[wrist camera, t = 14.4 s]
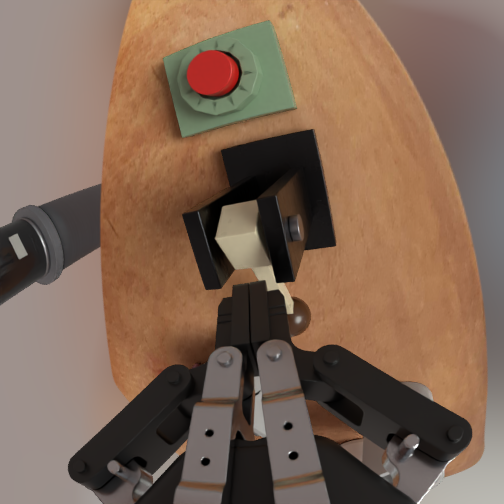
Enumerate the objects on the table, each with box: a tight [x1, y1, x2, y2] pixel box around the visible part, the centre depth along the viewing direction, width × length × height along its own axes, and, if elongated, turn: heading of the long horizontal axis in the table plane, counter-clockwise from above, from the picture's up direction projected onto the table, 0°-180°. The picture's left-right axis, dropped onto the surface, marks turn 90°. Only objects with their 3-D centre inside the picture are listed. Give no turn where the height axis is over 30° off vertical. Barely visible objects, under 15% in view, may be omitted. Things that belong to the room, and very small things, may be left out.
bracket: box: [182, 129, 336, 290], centre depth 21 cm, size 10×8×13 cm
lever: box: [215, 200, 311, 337], centre depth 21 cm, size 13×3×3 cm
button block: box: [163, 20, 297, 138], centre depth 22 cm, size 10×8×4 cm
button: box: [187, 50, 239, 97], centre depth 20 cm, size 4×4×2 cm
